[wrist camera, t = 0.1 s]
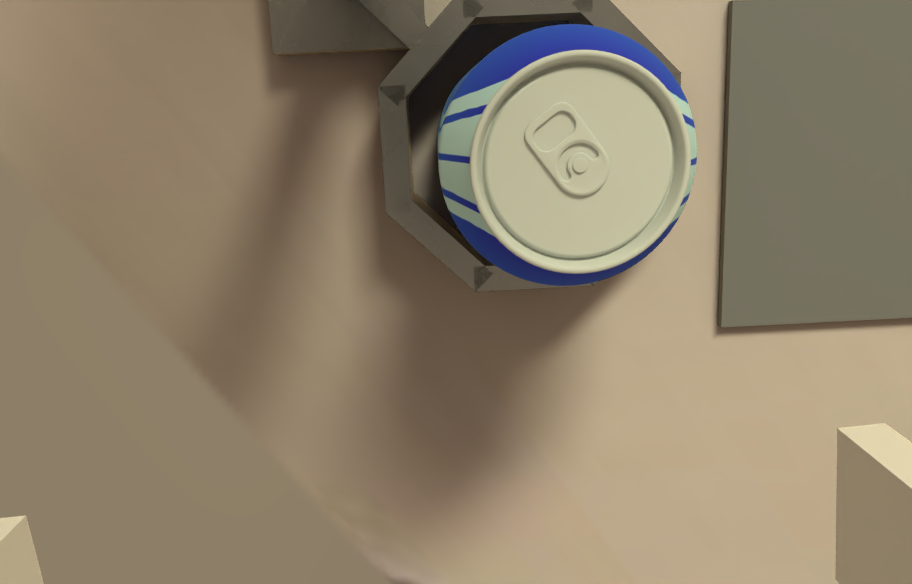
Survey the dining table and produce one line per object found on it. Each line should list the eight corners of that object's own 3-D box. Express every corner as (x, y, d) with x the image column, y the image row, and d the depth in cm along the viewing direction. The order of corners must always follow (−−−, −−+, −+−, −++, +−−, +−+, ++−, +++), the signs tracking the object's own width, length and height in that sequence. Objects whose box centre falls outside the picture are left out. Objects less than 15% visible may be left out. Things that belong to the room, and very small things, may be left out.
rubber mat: (728, 1, 37) (732, 0, 37) (1061, -14, 38) (1069, -15, 37) (717, 324, 41) (721, 327, 41) (1019, 309, 41) (1026, 311, 41)
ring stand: (264, -105, 36) (70, -338, 17) (662, -122, 36) (915, -371, 17) (301, 284, 40) (180, 450, 21) (656, 266, 40) (853, 414, 21)
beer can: (612, 52, 38) (736, 17, 22) (602, 225, 40) (709, 304, 24) (437, 49, 38) (439, 13, 22) (436, 223, 40) (437, 303, 24)
